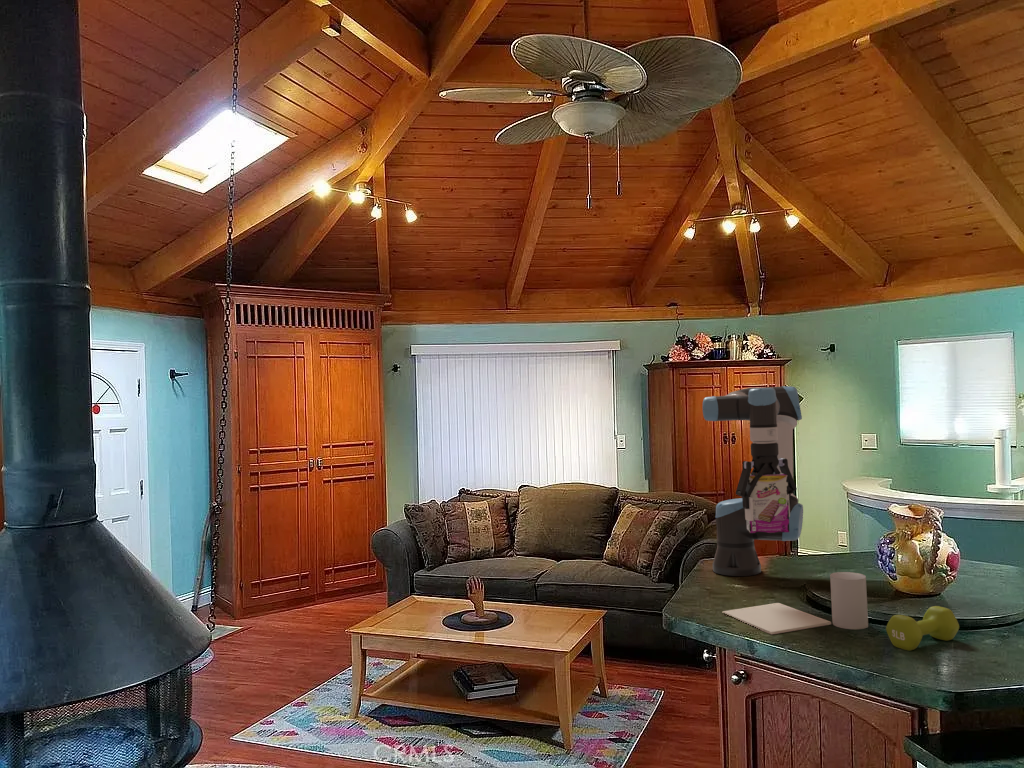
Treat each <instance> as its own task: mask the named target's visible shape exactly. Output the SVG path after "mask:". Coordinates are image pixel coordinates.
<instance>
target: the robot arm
mask: <svg viewBox="0 0 1024 768" xmlns="http://www.w3.org/2000/svg"><path fill="white" fill-rule="evenodd" d="M702 400H703V401H702V416H703V419H704V420H705V422H726V421H727V422H730V421H748V422H749V438H750V439H749V441H751V444H750V455H751V461H747V460H744V461H742V464H741V465H742V467H741V468H742V469H741V473H740V476H739V481H738V483H737V486H736V489H735V495H737V496H739V497H740V498H732V499H731V498H730V499H727V500H722V501H719V502H718V503H717V504H716V505H715V516H714V517H715V524H716V526H715V527H716V545H717V546H716V547H717V548H716V551H715V554H714V558H713V561H712V571H713V572H714V573H715V574H719V575H723V576H730V577H748V576H755V575H758V574H761V573H762V565H761V561H760V559H759V557H758V553H757V550H756V547H755V540H758V541H759V540H760V541H782V542H786V541H791V542H792V541H798V540H799V539H800V537H801V534H802V529H803V522H804V506H803V504H802V503H799V498H798V497H797V496H796V495H794V492H795V491H797V486H796V482H795V480H794V461H793V460H794V458H793V457H794V455H793V454H794V452H793V451H794V447H793V443H794V442H793V441H794V439H793V438H794V437H793V436H794V435H793V433H794V431H793V430H794V429H795V428H796V427H797V426H798V421H800V420H802V419H803V416H802V410H801V405H800V404H801V403H800V399H799V392H798V389H797V388H796V387H795V386H785V385H782V386H762V387H761V386H760V387H747V388H743V389H738V390H735V391H731V392H729V393H728V394H727V395H719V396H717V395H712V396H706V397H704V398H703V399H702ZM780 473H783V474H786V475H788V503H789V532H781V533H749V531H747V520H749V521H754V520H753V498H751V497H750V495H751V493H752V491H753V490H754V488H755V486H756V484H757V482H758V480H759V478H761V477H762V475H767V474H769V475H770V474H780ZM750 474H751V475H754V476H755V477H754V479H753V480H752V481H751V482H750V484H749V485H748V480H749V477H750Z"/></svg>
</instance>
